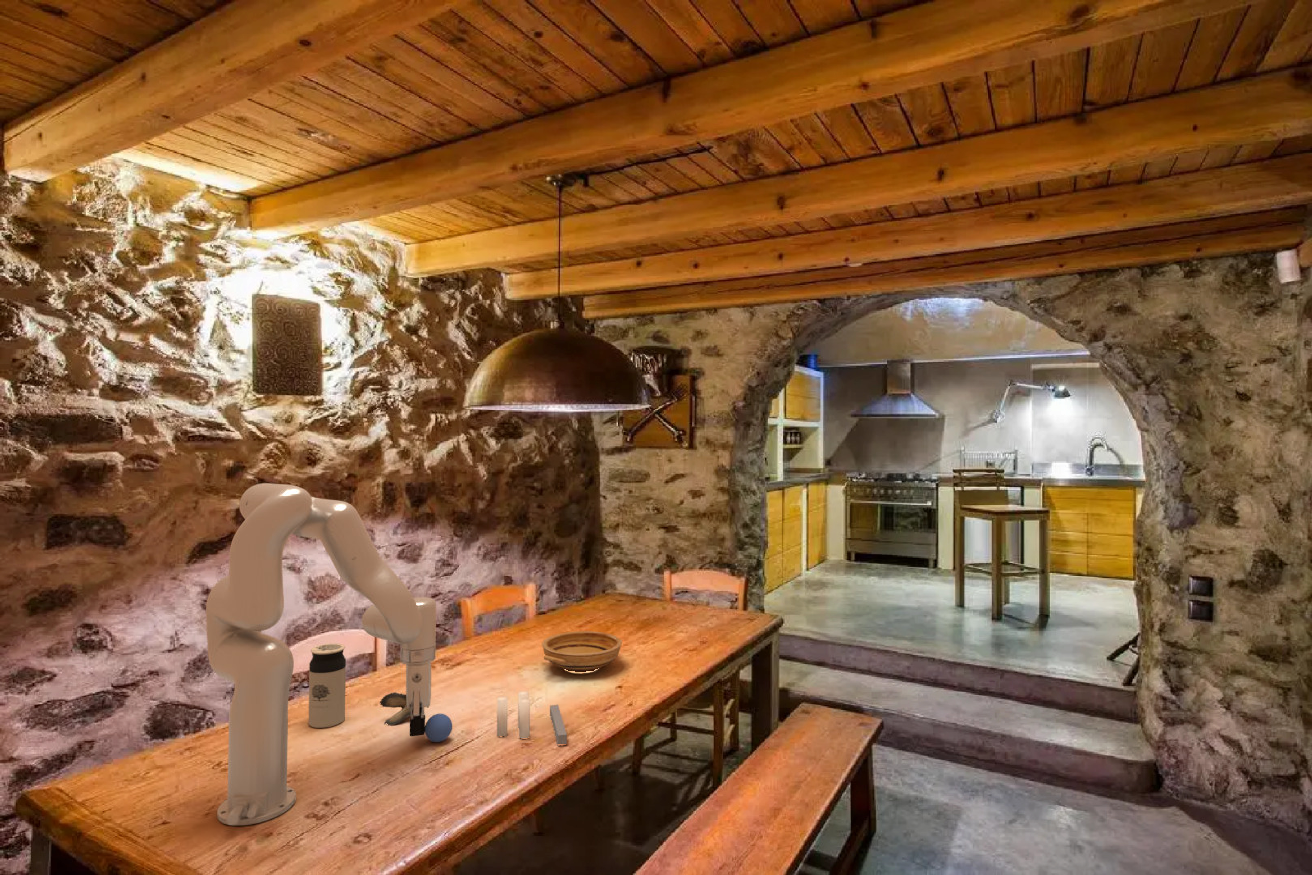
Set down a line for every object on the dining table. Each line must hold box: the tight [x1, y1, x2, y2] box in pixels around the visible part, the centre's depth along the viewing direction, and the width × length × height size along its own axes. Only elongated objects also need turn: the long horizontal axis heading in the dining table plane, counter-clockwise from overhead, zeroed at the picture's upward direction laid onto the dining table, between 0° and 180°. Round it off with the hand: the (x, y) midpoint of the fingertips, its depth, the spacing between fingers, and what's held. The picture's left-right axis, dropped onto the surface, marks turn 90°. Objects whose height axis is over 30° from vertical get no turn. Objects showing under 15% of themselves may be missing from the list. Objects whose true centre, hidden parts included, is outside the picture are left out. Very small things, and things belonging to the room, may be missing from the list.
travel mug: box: [308, 643, 347, 729], centre depth 165 cm, size 8×8×18 cm
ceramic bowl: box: [541, 630, 623, 672], centre depth 207 cm, size 30×24×8 cm
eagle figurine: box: [379, 691, 411, 726], centre depth 168 cm, size 8×7×9 cm
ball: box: [424, 713, 453, 743], centre depth 155 cm, size 6×6×6 cm
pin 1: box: [517, 690, 530, 729], centre depth 162 cm, size 2×2×8 cm
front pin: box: [496, 696, 509, 737], centre depth 159 cm, size 2×2×8 cm
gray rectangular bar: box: [549, 704, 568, 744], centre depth 162 cm, size 18×2×2 cm, turn 15°
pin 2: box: [518, 699, 531, 739], centre depth 158 cm, size 2×2×8 cm
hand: (417, 734), depth 154 cm, fingers closed
